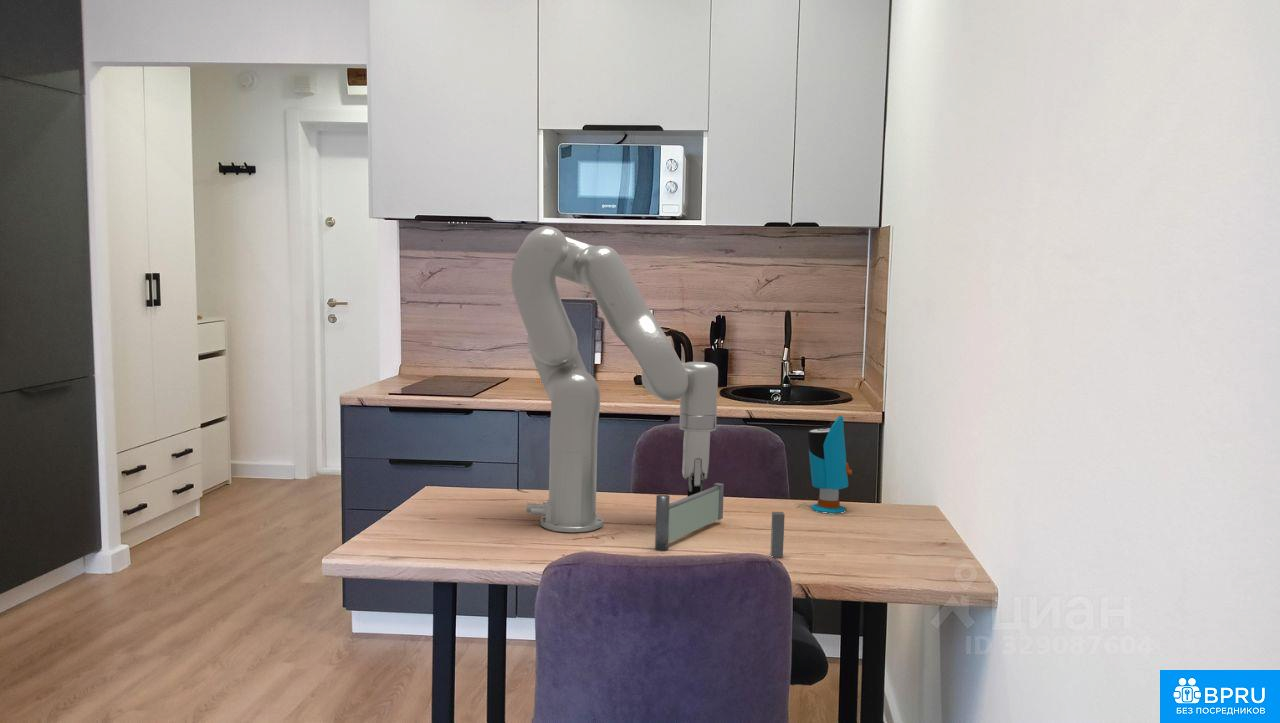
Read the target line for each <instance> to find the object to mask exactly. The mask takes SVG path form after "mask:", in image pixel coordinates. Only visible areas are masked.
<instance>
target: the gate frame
mask: <svg viewBox="0 0 1280 723" xmlns="http://www.w3.org/2000/svg"><path fill="white" fill-rule="evenodd" d="M655 498H656V501H655V502H656V503H655V505H656V506H655V509H656V510H655V532H654V533H655V536H654V537H655V540H654V550H655V551H658V552H665V551H668V550H669V543H668V530H669V504H670V498H671V497H670V495H668V494H657V495H656V497H655ZM770 532H771V533H770V557H771V556H773V557H775V558H774V559H784V541H785V540H784V537H785V536H784V534H785V513H784V512H783V511H771V530H770Z"/></svg>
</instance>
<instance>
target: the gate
mask: <svg viewBox="0 0 1280 723" xmlns="http://www.w3.org/2000/svg"><path fill="white" fill-rule="evenodd" d="M724 487H725V484H724V483H720V482H715V483H713V486H711V487H709V488H706V489H705V490H703V491H701V492H699V493H696V494H693V495H691V496H688V495H687V496H688V497H687V496H686V497H683V498H681V499H678V500H676V501H672V502H671V503H670V502H669V530H668V544H669V543H670V542H673V541H675V540H677V539H679V538H682V537H684V536H686V535H688V534H690V533H693V532H694V531H696V530H699V529H701V528H703V527H706V526H707V525H710V524H712V523H715V522H716V521H720V520H722V519H723V518H724V493H725V492H724V491H725V490H724V489H725V488H724Z"/></svg>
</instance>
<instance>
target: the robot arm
mask: <svg viewBox="0 0 1280 723" xmlns="http://www.w3.org/2000/svg"><path fill="white" fill-rule="evenodd" d="M523 240H524V241H523V243H522V244H520V245H521V246H520V247H519V249H518V251H517V252H516V254H515V257H514V260H513V264H512V267H511V276H510V278H511V281H510V282H511V289H512V293H513V298H514V300H515V303H516V305H517V309H518V312H519V314H520V317H521V319H522V322H523V326H524V327H525V330H526V333H527V339H526V342H527V347H528V349H529V352H530V355H531V358H532V361H533V362H534V365H535V367H536V370H537V373H538V376H539V378H540V380H541V382H542V385H543V387H544V390H545V392H546V395H547V396H548V399H549V400H550V403H551V405H550V424H549V464H548V465H549V468H548V469H549V472H548V473H549V476H548V499H547V502H542V503H534V502H532V503H531V502H527V504H526V514H530V515H531V516H532V515H533V516H534V515H535V516H536V515H539V516H540V515H542V516H541V518H540V526H541V527H543V528H544V529H546V530H549V531H553V532H558V533H559V532H560V533H584V532H591V531H596V530H599V529H600V528H602V527H603V526H604V519H603V518H602V517H601V516H599V515H597V512H596V510H597V476H598V475H597V471H598V470H597V469H598V431H599V430H598V429H599V418H600V409H601V392H600V387H599V384H598V382H597V380H596V378H595V377H594V376H593V375H592V374H591V373H590V372H588V370H587V368H586V366H585V364H584V361H583V358H582V356H581V354H580V351H579V348H578V337H577V334H576V331H575V328H573V326H572V324H571V320H570V318H569V317H568V314H567V311H566V309H565V307H564V303H563V302H562V299H561V295H560V292H559V290H558V287H557V281H556V277H557V278H561V279H562V280H567V281H570V282H572V283H576V284H579V285H583V286H586V287H588V290H589V291H590V293H591V295H592V296H593V298H594V299H595V302H596V303H597V306H598V307H599V309H600V310H601V313H602V314H603V315H604V318H605V320H606V322H607V323H608V326H609V327H610V329H611V330H612V332H613V333H614V335H615V336H616V337H617V338H618V339H619V340H620V341H621V342H622V343H624V345H625V346H626V347H627V349H629V351H630V352H631V354H632V355H633V356H634V358H635V360H636V361H637V363H638V365H639V366H640V367H641V370H642V373H641V384H642V386H643V387H644V389H645V390H646V391H647V392H648V393H649V394H651V395H652V396H654V397H657V398H658V399H659V400H662V401H665V402H673V401H676V400H679V399H680V405H679V429H680V430H682V431H684V432H683V439H682V440H683V444H682V464H681V465H682V468H681V472H682V473H681V474H682V477H683V479H684V480H687V478H688V490H687V496H686V497H688V496H691V495H693V494H696V493H699V492H701V491H704V490H703V489H704V481H705V480H706V479H708V475H709V474H708V473H709V465H710V445H711V442H710V441H711V432H715V431H716V430H717V415H718V414H717V412H718V411H717V410H718V390H719V388H718V387H719V386H718V383H719V369H718V366H717V365H716V364H714V363H712V362H706V361H687V362H682V361H681V359H680V358H679V356H678V354H677V352H676V350H675V348H674V347H673V345H672V343H671V341H670V339H669V338H668V337H667V335H666V333H665V332H664V330H663V329H662V328H661V326H660V324H659V322H658V321H657V319H656V317H655V315H654V314H653V312H652V311H651V310H650V308H649V306H648V305H647V302H646V301H645V299H644V298H643V296H642V294H641V292H640V290H639V289H638V287H637V285H636V283H635V281H634V279H633V277H632V275H631V274H630V272H629V270H628V268H627V267H626V264H625V262H624V260H623V259H622V257H621V256H620V255H619V253H618V252H617V250H615V249H614V248H612V247H610V246H607V245H593V244H589V243H586V242H583V241H579V240H577V239H574V238H570V237H568V236H565V234H564V233H563V232H562V231H561V230H559V229H558V228H556V227H553V226H550V225H548V226H539V227H538V228H535V229H534V230H532V231H531V232H529V233H528V234H527V236H526V237H525V239H523Z"/></svg>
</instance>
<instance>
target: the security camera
mask: <svg viewBox="0 0 1280 723" xmlns="http://www.w3.org/2000/svg"><path fill="white" fill-rule="evenodd" d="M844 425H845V424H844V415H840V416H838V417H837V418H836V420H835V421H834V423H833V424H832V425H831V426H830V427H829V426H828V427H825V426H823V427H817V428H811V429H809V430H808V431H807V440H808V454H809V455H808V456H809V457H808V458H809V466H810V476H811V485H812V487H814V488H816V489H819V497H817V503H816V504H815V503H814V504H811V507H810V509H811V508H812V509H813V510H815V511H818V512H817V513H819V512H827V513H841V512H844V511H847V509H846V507H845V506H843V505H841V504H840V503H841V499H840V498H839V496H840V495H839V493H840V492H839V491H840V490H842V489H845V488H848V487H849V478H848V476H852V475H853V471H852V469H850V466H849V462H847V453H846V451H847V450H846V441H845V429H844V427H845V426H844ZM812 509H811V510H812ZM813 510H812V511H813ZM815 511H814V512H815Z"/></svg>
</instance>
